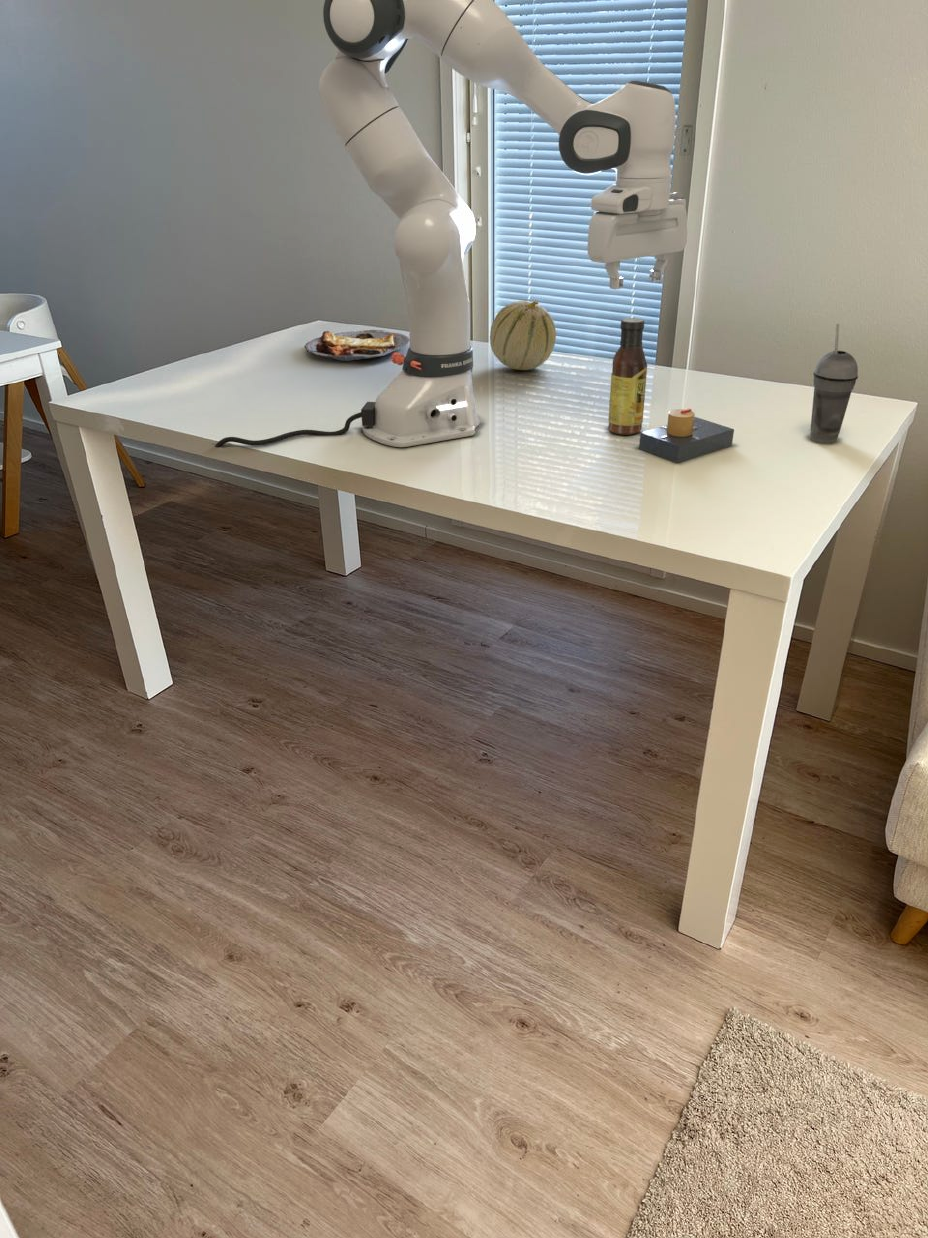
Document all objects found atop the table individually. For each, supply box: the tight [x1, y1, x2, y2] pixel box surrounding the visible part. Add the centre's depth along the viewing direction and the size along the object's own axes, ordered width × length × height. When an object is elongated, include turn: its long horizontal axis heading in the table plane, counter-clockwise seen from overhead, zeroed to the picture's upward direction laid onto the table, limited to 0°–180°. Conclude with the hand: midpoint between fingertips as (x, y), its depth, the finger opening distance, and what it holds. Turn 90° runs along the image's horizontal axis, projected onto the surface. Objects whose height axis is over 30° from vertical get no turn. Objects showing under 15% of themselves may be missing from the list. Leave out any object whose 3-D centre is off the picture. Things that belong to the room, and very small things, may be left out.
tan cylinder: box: [666, 408, 696, 437], centre depth 158 cm, size 4×4×4 cm
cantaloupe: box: [489, 300, 557, 371], centre depth 203 cm, size 15×15×15 cm
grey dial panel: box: [638, 416, 735, 464], centre depth 161 cm, size 14×9×3 cm, turn 126°
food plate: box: [303, 329, 410, 362], centre depth 222 cm, size 25×23×4 cm
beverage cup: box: [809, 323, 859, 445], centre depth 159 cm, size 7×7×20 cm
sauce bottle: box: [608, 317, 648, 436], centre depth 165 cm, size 6×6×20 cm
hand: (636, 284), depth 157 cm, fingers open, 8 cm apart
